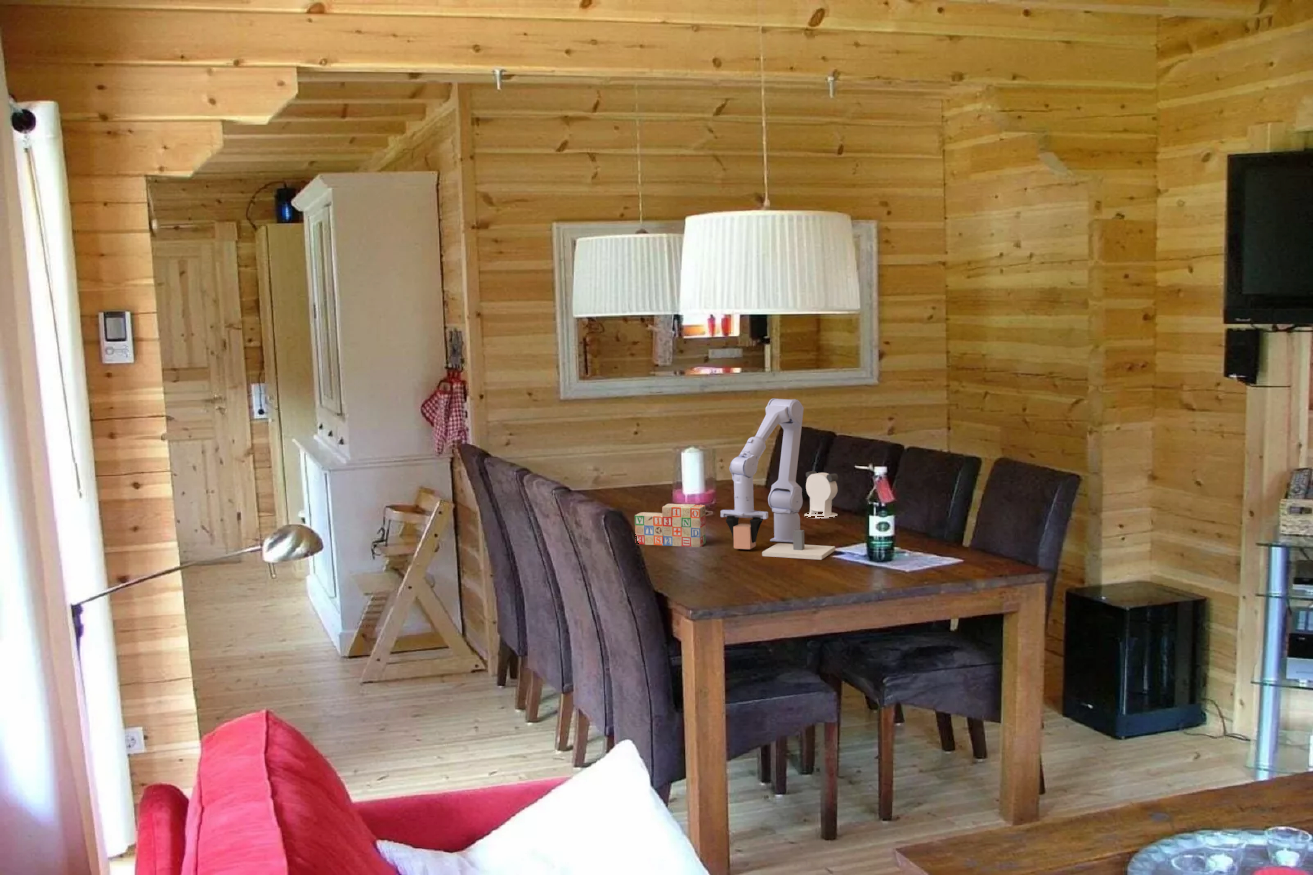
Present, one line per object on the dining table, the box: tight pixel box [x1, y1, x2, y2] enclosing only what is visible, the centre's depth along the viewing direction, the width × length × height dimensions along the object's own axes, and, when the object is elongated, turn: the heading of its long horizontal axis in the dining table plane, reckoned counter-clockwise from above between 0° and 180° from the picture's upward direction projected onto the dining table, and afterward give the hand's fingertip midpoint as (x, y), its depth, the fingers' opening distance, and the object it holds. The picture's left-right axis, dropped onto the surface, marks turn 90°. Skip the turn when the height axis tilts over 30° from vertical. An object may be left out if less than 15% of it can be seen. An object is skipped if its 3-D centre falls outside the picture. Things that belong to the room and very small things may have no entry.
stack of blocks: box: [634, 503, 707, 548], centre depth 391 cm, size 21×6×12 cm, turn 71°
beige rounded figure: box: [804, 470, 839, 519], centre depth 434 cm, size 12×11×15 cm
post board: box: [761, 529, 836, 561], centre depth 372 cm, size 14×18×7 cm
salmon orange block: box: [733, 523, 757, 550], centre depth 379 cm, size 5×5×7 cm
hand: (744, 541), depth 379 cm, fingers closed on salmon orange block, 5 cm apart
